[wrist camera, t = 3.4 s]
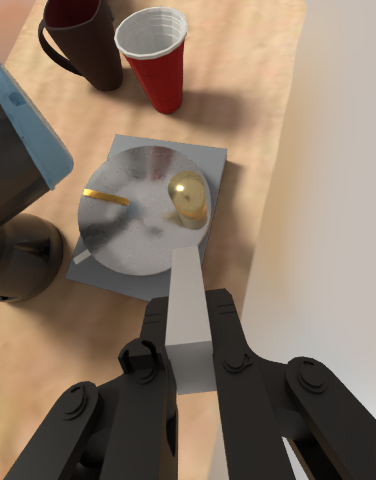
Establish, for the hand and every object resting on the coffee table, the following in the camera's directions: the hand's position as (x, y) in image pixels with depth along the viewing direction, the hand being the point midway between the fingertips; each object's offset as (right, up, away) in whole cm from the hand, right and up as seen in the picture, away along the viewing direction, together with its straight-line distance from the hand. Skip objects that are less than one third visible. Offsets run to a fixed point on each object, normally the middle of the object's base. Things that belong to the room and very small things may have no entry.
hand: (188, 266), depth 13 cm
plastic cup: (-4, +29, +28) cm, 41 cm away
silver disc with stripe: (-6, +6, +19) cm, 21 cm away
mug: (-19, +36, +31) cm, 51 cm away
